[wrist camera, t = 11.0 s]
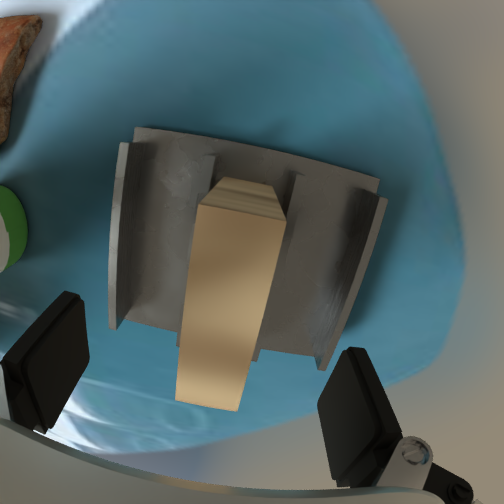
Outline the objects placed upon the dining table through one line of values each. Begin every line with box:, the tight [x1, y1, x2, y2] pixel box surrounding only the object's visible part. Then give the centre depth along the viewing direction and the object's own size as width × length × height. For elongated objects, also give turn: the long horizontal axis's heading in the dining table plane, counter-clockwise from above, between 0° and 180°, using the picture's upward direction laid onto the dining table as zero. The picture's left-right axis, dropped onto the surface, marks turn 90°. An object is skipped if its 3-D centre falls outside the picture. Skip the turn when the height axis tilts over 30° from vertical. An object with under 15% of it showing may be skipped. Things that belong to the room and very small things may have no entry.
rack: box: [108, 127, 388, 371], centre depth 21 cm, size 15×17×4 cm
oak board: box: [175, 177, 287, 411], centre depth 17 cm, size 10×3×10 cm, turn 169°
